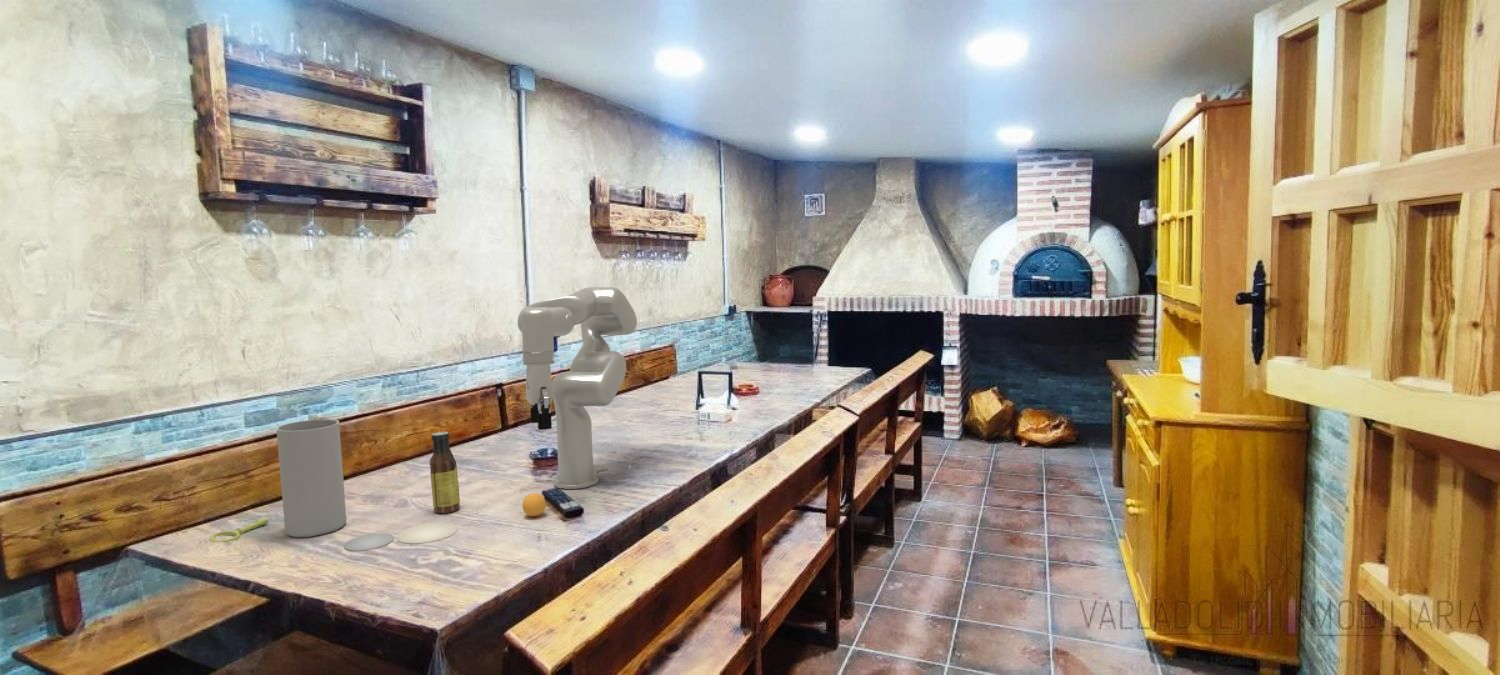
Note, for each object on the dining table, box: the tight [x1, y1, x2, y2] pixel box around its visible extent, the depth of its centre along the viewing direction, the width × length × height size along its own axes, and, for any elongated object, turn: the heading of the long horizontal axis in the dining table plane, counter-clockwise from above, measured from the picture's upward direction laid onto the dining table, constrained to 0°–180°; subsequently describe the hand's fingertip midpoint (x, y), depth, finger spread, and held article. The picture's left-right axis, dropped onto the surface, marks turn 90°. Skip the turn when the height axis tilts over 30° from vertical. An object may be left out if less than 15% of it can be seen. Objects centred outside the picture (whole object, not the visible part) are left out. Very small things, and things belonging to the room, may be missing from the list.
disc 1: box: [343, 532, 395, 552], centre depth 163 cm, size 10×10×1 cm
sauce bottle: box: [429, 431, 461, 514], centre depth 183 cm, size 6×6×20 cm
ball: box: [522, 493, 547, 517], centre depth 178 cm, size 6×6×6 cm
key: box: [209, 517, 269, 543], centre depth 170 cm, size 7×12×2 cm, turn 175°
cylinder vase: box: [276, 418, 347, 538], centre depth 171 cm, size 12×12×25 cm
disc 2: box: [396, 521, 459, 545], centre depth 168 cm, size 13×13×1 cm
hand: (541, 425), depth 184 cm, fingers open, 9 cm apart
